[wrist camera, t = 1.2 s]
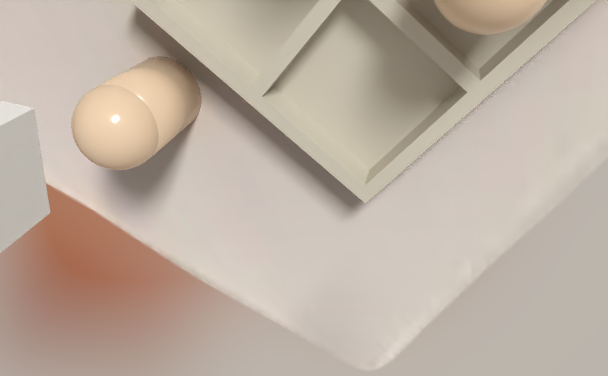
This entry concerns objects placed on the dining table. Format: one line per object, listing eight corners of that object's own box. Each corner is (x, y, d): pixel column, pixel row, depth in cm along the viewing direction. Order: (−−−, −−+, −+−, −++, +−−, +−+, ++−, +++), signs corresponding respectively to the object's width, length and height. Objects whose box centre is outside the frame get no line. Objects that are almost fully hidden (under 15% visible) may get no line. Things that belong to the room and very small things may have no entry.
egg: (120, 94, 33) (38, 144, 27) (154, 40, 31) (73, 80, 24) (177, 141, 34) (111, 201, 27) (214, 92, 32) (152, 144, 25)
